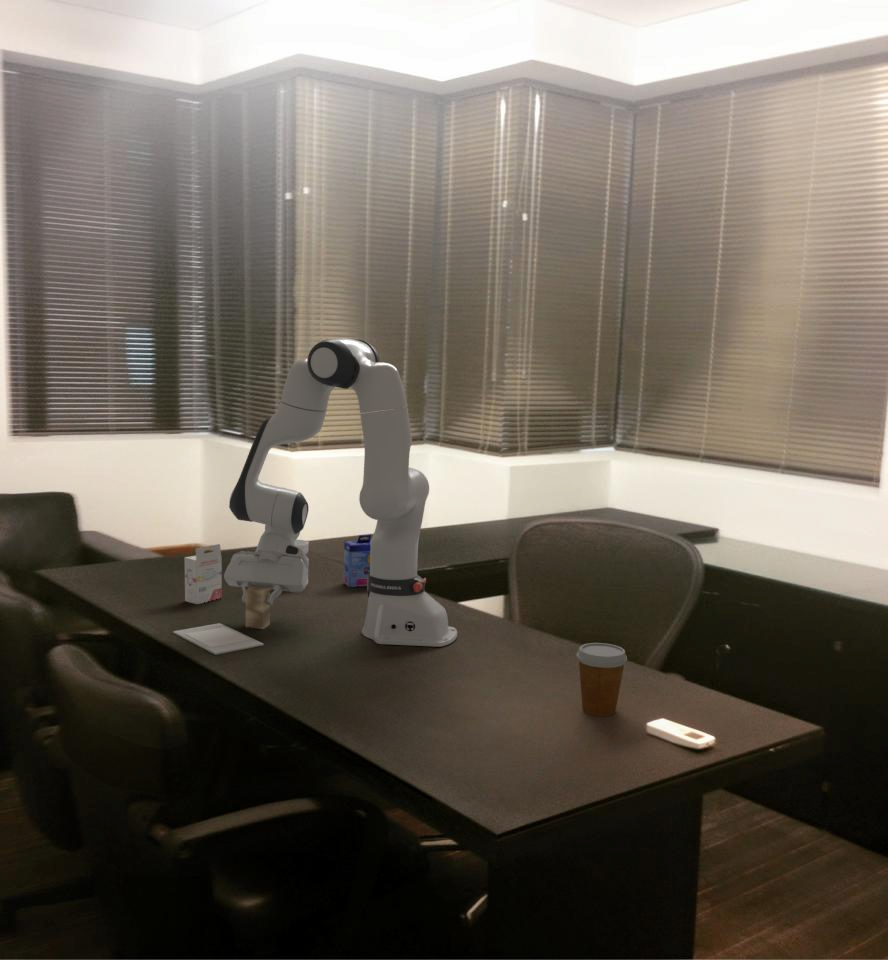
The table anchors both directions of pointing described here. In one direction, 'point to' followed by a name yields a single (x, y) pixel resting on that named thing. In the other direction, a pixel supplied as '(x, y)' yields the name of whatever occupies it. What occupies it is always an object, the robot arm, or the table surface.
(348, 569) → the ink cartridge box
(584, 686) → the disposable coffee cup
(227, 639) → the grey mat
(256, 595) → the wooden block
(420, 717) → the table surface
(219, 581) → the ink cartridge box
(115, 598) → the table surface
